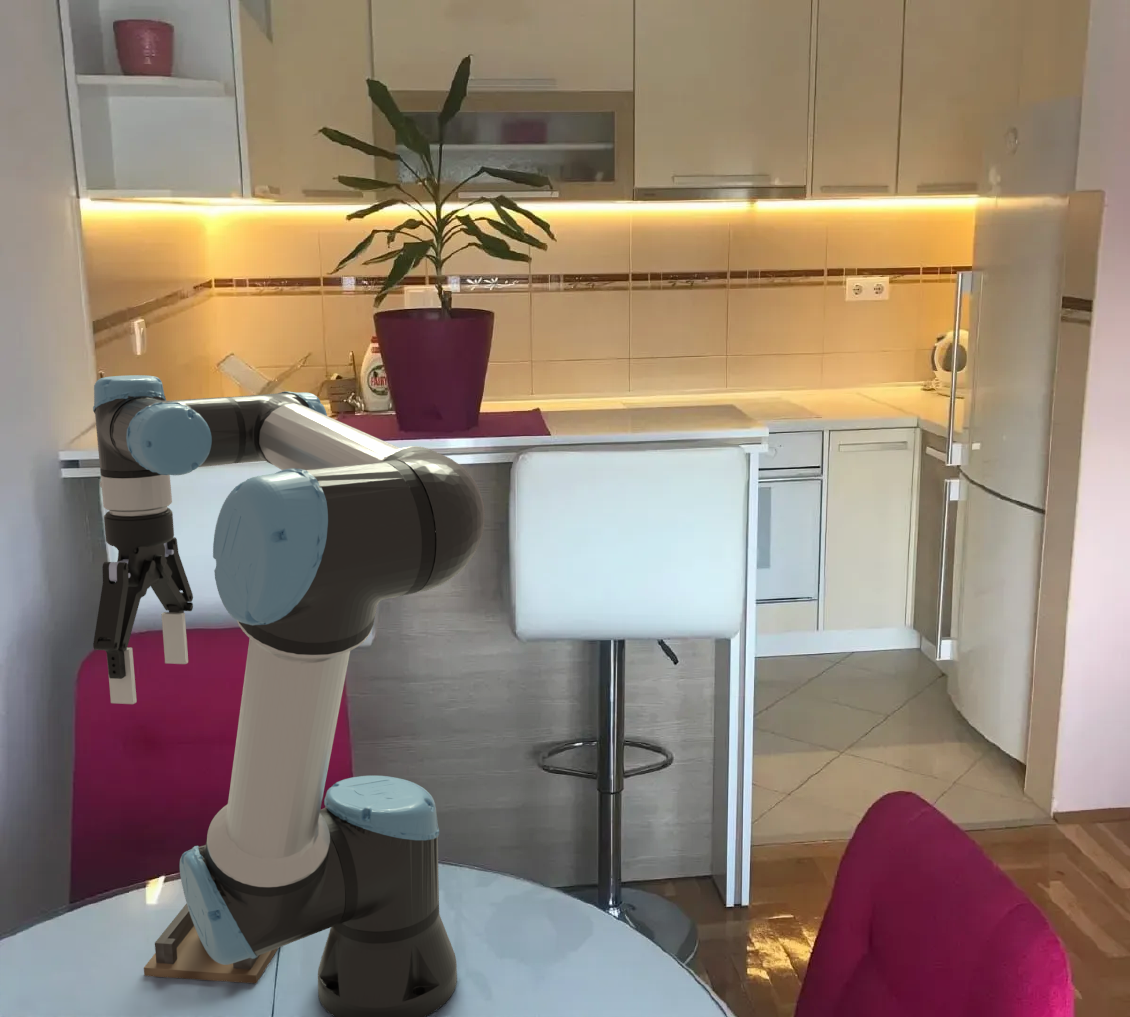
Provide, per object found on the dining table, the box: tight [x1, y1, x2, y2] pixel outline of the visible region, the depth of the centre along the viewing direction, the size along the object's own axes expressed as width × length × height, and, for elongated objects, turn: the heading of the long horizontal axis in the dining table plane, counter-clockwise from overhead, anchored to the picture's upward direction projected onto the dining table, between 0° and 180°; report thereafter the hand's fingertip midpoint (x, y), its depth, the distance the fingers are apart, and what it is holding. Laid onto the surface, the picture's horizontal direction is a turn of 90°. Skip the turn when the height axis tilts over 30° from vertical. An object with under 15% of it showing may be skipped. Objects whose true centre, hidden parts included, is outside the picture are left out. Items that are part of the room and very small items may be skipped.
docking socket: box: [143, 903, 279, 984], centre depth 131 cm, size 13×13×4 cm
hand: (151, 682), depth 135 cm, fingers open, 13 cm apart
